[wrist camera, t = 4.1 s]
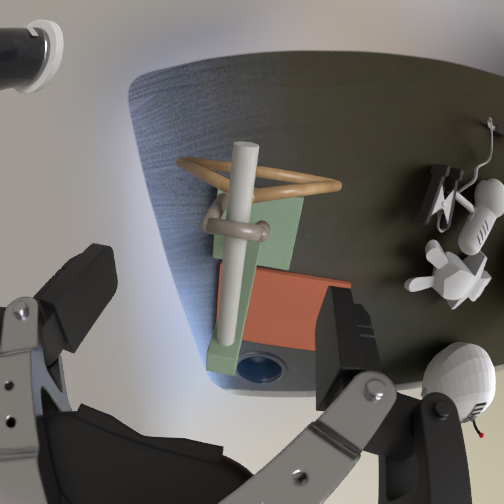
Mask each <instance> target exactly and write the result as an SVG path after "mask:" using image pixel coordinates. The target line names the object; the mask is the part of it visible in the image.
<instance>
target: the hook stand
mask: <svg viewBox="0 0 504 504" xmlns="http://www.w3.org/2000/svg"><path fill="white" fill-rule="evenodd" d="M258 152H259V145H257V144H255V143H250V142H235V143H234V144H233V152H232V162H231V171H230V182H229V192H228V202H227V208H226V210H225V212H224V213H223V215H222V217H221V219H225V220H231V221H237V222H244V223H250V224H256V223H257V222H258V221H260V220H264V221H266V222H268V224H269V225H270V233H269V237H268V239H267V240H266V241H264V242H256V241H250V240H244V239H238V238H232V237H226V236H220V235H214V243H213V258H218V259H223V260H222V273H221V286H220V300H219V315H218V318H217V321H216V325H215V328H214V331H213V334H212V338H211V341H210V344H209V347H208V351H207V364H206V370H207V371H212V372H217V373H222V374H227V375H233V376H234V375H235V370H236V365H237V360H238V355H239V351H240V346H241V341H242V336H243V331H244V326H245V321H246V316H247V311H248V306H249V301H250V297H251V292H252V287H253V282H254V277H255V272H256V267H257V265H259V266H265V267H271V268H277V269H283V270H289V266H290V261H291V257H292V252H293V248H294V243H295V238H296V234H297V229H298V224H299V219H300V215H301V210H302V205H303V200H304V197H303V196H299V197H293V198H286V199H279V200H272V201H266V202H260V203H253V204H252V197H253V190H254V189H257V188H256V187H254V182H255V174H256V167H257V159H258ZM221 193H225V192H223V191H221V190H219V189H218V188H217V196H218V195H219V194H221Z"/></svg>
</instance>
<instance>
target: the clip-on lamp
mask: <svg viewBox="0 0 504 504" xmlns="http://www.w3.org/2000/svg"><path fill="white" fill-rule="evenodd" d="M489 121H490V123H489ZM487 125H488V127H489V128H490V129H491V151H490V155H489V157H488V159H487V160H486V161H485V162H483V163H481V164H479V165H478V166H476V167H475V169H474V178H473V179H472V180H471V181H470V182H469V183H468V184H466V185H464V186H463V187H462V188H460V189H459V190H458V191H457V186H458V180H459V181H461V180H462V177H463V170H461V169H455V168H450V167H449V166H447V165H435V164H433V165H432V167H431V170H430V174H431V175H432V177H431V180H430V183H429V186H428V189H427V192H426V195H425V198H424V201H423V204H422V206H421V209H420V212H419V215H418V218H417V219H418V222H420V223H422V224H424V225H427V224H428V223H429V221H430V218H431V215H433V214H434V213H435V212H436V213H437V216H438V220H437V228H438V230H439V231H440V232H444V231H445V230H448V229H449V228H450V225H451V220H452V215H453V210H454V205H455V200H457V201H458V202H459V203H460V204H461V205H463V206H464V207H465V208H466V209H467V210H468V211H469V212H470V214H469V216H468V219H467V221H466V223H465V225H464V227H463V229H462V231H461V233H460V235H459V237H458V245H459V247H460V249H461V250H462V252H464V253H465V254H467V255H475V254H477V253H478V252H479V251H480V249H481V248H482V246H483V244H484V242H485V240H486V238H487V236H488V234H489V232H490V230H491V228H492V226H493V224H494V222H495V220H496V218H497V217H499V216H501V215H502V214H503V213H504V185H503V184H502V183H501V182H500V181H499V180H497V179H489V180H488V181H485V180H482V181H480V182H479V183H478V185H477V186H476V188H475V192H474V200H475V204H474V206H473V205H472V204H471V203H470V202H469V201H468V200H467V199H465V198H464V197H463V196H462V195H461V194H459V193H460V192H462V191H463V190H464V189H466V188H467V187H469V186H470V185H472V184H473V183H474V182H475V181H476V179H477V170H478V168H479V167H480V166H482V165H485V164H486V163H488V162H489V161H490V159H491V156H492V150H493V130H494V131H495V133H496V134H498V135H500V136H502V137H504V128H502V127H500V126H498V125H496V127H494V126H492V119H491V117H489V118H488V121H487ZM444 178H446V179H445V186H444V188H443V187H442V184H443V181H444ZM440 227H441V228H442V229H440Z"/></svg>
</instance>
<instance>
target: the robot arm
mask: <svg viewBox="0 0 504 504" xmlns="http://www.w3.org/2000/svg"><path fill="white" fill-rule="evenodd" d="M49 54H50V39H49V36H48V34H47V32H46V31H45V30H44V29H42V28H37V27H32V26H26V28H0V90H4V89H9V88H14V87H23V86H28V85H31V84H33V83H34V82H35V81H37V80H38V78H39V77H40V76H41V75H42V73H43V71H44V69H45V67H46V65H47V62H48V59H49ZM117 283H118V281H117V273H116V267H115V260H114V254H113V250H112V248H111V247H110V246H106V245H100V244H95V243H93V244H91V245H90V246H89V247H88V248H87V249H86V250H85V251H84V252H83V253H82V254H79V255H77V256H75V257H73V258H71V259H69V260H68V261H67V262H66V263H65V264H64V265H63V266H62V268H61V269H59V270H58V271H57V273H55V276H53V277H52V278H51V279H50V280H49V281H48V282H47V283H46V284H45V285H44V286H43V287H42V288H41V289H40V290H39V292H37V294H36V295H35V296H34V297H33V298H32V297H21V298H18V299H16V300H14V301H12V302H11V303H10V304H9V305H8V306H7V307H0V504H323V502H324V501H325V500H326V499H327V498H328V497H329V496H330V495H331V493H332V492H333V491H334V490H335V489H336V488H337V486H338V485H339V484H340V483H341V482H342V480H343V479H344V478H345V477H346V476H347V474H348V473H349V472H350V471H351V469H352V468H353V467H354V466H355V464H356V463H357V461H358V460H359V458H360V456H361V455H360V453H361V452H362V450H363V451H367V452H370V453H373V454H377V455H379V499H378V500H379V501H378V504H472V497H471V487H470V477H469V470H468V463H467V456H466V451H465V444H464V439H463V433H462V428H461V423H460V419H459V414H458V410H457V407H456V405H455V403H454V402H453V400H452V399H451V398H450V397H448V396H447V395H445V394H443V393H440V392H432V393H429V394H427V395H426V396H425V397H424V398H423V399H422V400H419V399H416V398H412V397H410V396H406V395H403V394H400V393H399V392H397V391H396V388H395V386H394V384H393V382H392V381H391V380H390V379H389V378H388V377H387V376H386V375H384V374H383V373H382V369H381V364H380V359H379V354H378V350H377V345H376V341H375V338H374V332H373V329H372V323H371V319H370V315H369V314H368V313H367V311H366V310H365V309H364V307H363V306H362V305H360V304H354V303H353V298H352V293H351V290H350V288H343V287H337V286H330V285H329V286H328V288H327V290H326V293H325V296H324V299H323V302H322V305H321V308H320V311H319V314H318V317H317V321H316V326H315V360H316V410H317V411H325V412H324V413H323V414H322V415H321V416H320V417H319V418H318V419H317V420H316V421H315V422H312V423H311V424H309V425H308V426H307V427H306V428H305V429H304V430H303V431H302V432H301V433H300V434H299V435H298V436H297V437H296V438H295V439H294V440H293V441H292V442H291V443H290V444H289V445H287V446H286V448H284V449H283V450H282V451H281V452H280V453H279V454H278V455H277V456H276V457H274V458H273V459H272V460H271V461H270V462H269V463H268V464H266V465H265V466H264V467H263V468H262V469H261V470H260V471H258V472H257V473H256V474H255V475H253V474H252V473H251V472H250V471H249V470H248V469H247V468H245V467H244V466H242V465H241V464H240V463H238V462H236V461H234V460H232V459H231V458H228V457H226V456H224V455H223V447H222V446H218V445H213V444H208V443H203V442H199V441H194V440H190V439H186V438H165V437H149V436H143V435H141V434H139V433H137V432H136V431H134V430H133V429H131V428H130V427H128V426H126V425H125V424H123V423H122V422H120V421H119V420H117V419H116V418H114V417H113V416H111V415H109V414H106V413H103V412H101V411H98V410H96V409H94V408H91V407H89V406H86V405H84V404H81V405H80V407H79V408H78V411H72V409H71V407H70V405H69V401H68V398H67V392H66V386H65V380H64V372H63V364H62V358H61V355H60V353H61V352H62V350H63V349H64V350H66V351H69V352H71V353H75V351H76V350H77V348H78V347H79V345H80V344H81V342H82V341H83V339H84V338H85V336H86V335H87V333H88V332H89V330H90V329H91V327H92V326H93V324H94V323H95V321H96V320H97V318H98V317H99V316H100V314H101V313H102V311H103V310H104V308H105V307H106V306H107V304H108V303H109V301H110V300H111V299H112V297H113V296H114V294H115V292H116V289H117Z"/></svg>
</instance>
